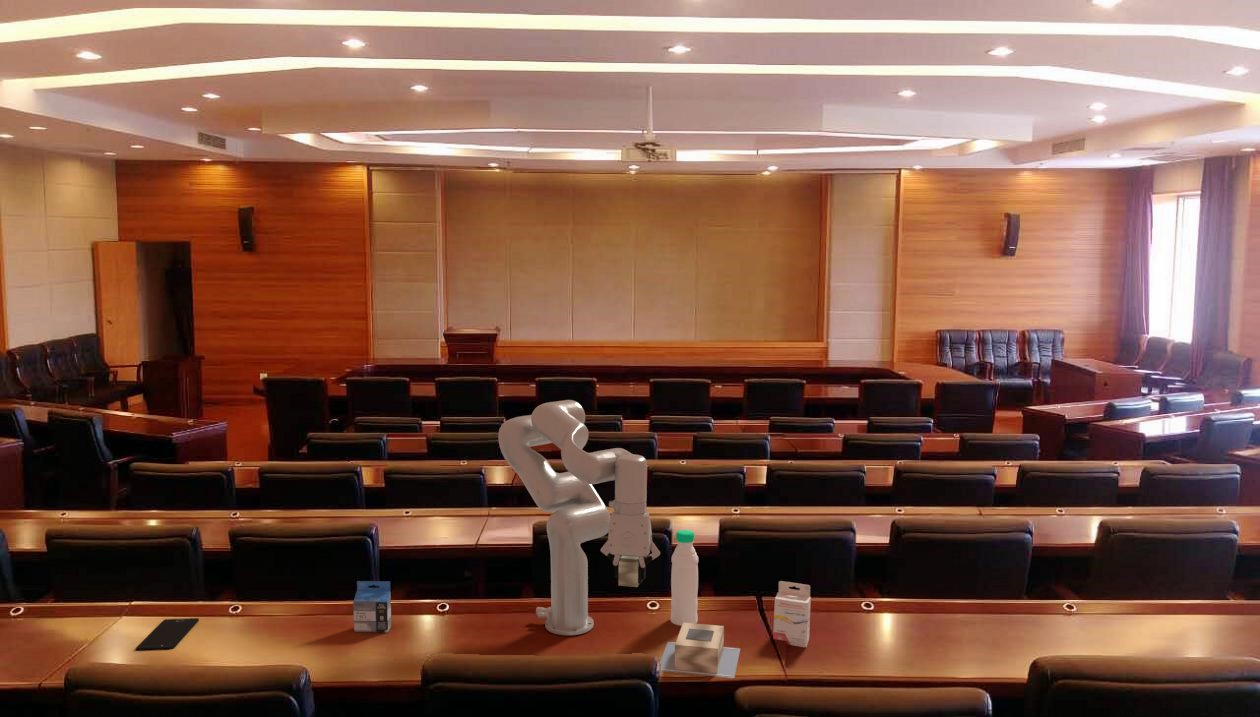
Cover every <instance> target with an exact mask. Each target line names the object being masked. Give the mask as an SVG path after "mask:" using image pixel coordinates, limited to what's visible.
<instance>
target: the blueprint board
mask: <svg viewBox="0 0 1260 717" xmlns="http://www.w3.org/2000/svg"><path fill="white" fill-rule="evenodd" d="M675 643H676V641H674V642H673V641H667V643H666V645H665V648H664V651H663V654H662V655H661V658H660V661H659V663H660V664H661V671H660V672H668V673H674V674H675V673H677V674H684V675H685V674H688V675H697V676H705V677H706V676H707V677H716V678H717V677H718V678H728V679H735V676H736V672H737V667H738V663H739V657H740V654H741V648H738V647H728V646H724V647H723V653H722V657H721V661H720V666H719V670H718V673H708V672H697V671H687V670H677V669H675Z"/></svg>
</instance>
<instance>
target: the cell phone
mask: <svg viewBox="0 0 1260 717" xmlns="http://www.w3.org/2000/svg"><path fill="white" fill-rule="evenodd" d="M198 622H199V618H197V617H196V618H193V617H192V618H167V619H163V620H162V621H161V622H160V623H159V624H158V625H157V626H156V627H155V628H154V629H153V630H152V631H151V632H150V633H149V634H148V636H146V637H145V638H144V639H143V641H141V642H140V643H139V645H137V646H136V648H135V650H136V651H140V652H141V651H163V650H166V651H169V650H174V649H176V647H177V646H178V645H179V644H180V642H181V641H182V640H184V638H185V637H186V636H187V635H188V634H189V632H190V631H191V630H192V629H193V628H194V627H195V626H196V625H197V623H198Z"/></svg>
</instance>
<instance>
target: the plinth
mask: <svg viewBox="0 0 1260 717" xmlns="http://www.w3.org/2000/svg"><path fill="white" fill-rule="evenodd" d="M724 634H725V625H716V624H707V623H706V624H705V623H696V624H695V623H684V622H683V624H682V626H681V627H680V630H679V633H678V634H677V638H676V641H675V642H676V643H675V669H677V670H687V671H697V672H708V673H718V670H719V666H720V661H721V657H722V653H723V647H725V646H724V643H725V642H724V640H725V635H724Z"/></svg>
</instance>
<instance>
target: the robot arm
mask: <svg viewBox="0 0 1260 717" xmlns="http://www.w3.org/2000/svg"><path fill="white" fill-rule="evenodd" d="M585 422H586V413H585V409H584V408H583V407H582V405H581V404H580V403H579V402H577V401H576V400H573V399H565V400H558V401H549V402H545V403H542V404H540V405H538V406H537V407H535V408H534V410H533V411H532V413H531V414H529V415H521V416H516V417H513V418H510V419H508V420H506V421H504V422H503V423H502V424H501V426H500V427H499V430H498V434H497V435H498V436H497V437H498V444H499V448H500V452H501V454H502V456H503V458H504V459H505V461H506V462H507V464H509V466H510V467H511V468H512V469H513V470H514V471H515V473H516V474H517V476H519V478H520V479H521V480H520V481H522V483H523V485H524V487H525V489H526V490H527V491H528V493H529V494H530V496H531V498H532V500H533V501H534V503H535V504H536V506H537V507H538V508H539V510H541V511H543V512H545V513H552V514H550V516H549V517H548V518H547V521H546V533H547V539H548V543H549V550H550V581H551V582H550V595H551V596H550V597H551V598H550V599H551V600H550V602H551V603H550V604H551V605H550V606H548V607H542V606H537V607H536V609H535V615H537V618H539V619H546V620H545V622H544V624H545V629H546V630H547V632H549V633H552V634H554V635H557V636H558V635H560V636H577V635H582V634H585V633H588V632H589V631H591V630H592V629H593V628H594V618H592V617H591V616H589V612H588V611H589V600H588V599H589V596H588V595H589V593H588V592H589V584H588V583H589V581H588V580H589V576H588V573H589V572H588V570H589V569H588V567H589V565H588V564H589V563H588V557H587V555H586V553H585V552H584V550H583V548H582V547H581V544H583V543H585V542H588V541H591V540H595V539H599V538H602V537H604V536H606V535H607V534H608V537H607V540H606V542H605V543H603V546H601V548H600V552H601V553H602V554H603V555H605V556H607V559H609V560H610V562H611V563H612V565H613V566H614V578H616V582H617V583H619V560H620V558H621V557H622V556H634V557H638V558H639V562H640V565H639V568H638V583H639V585H641V584H642V582H643V581H644V580H645V579H646V570H647V569H646V566H647V565H648V564H649V563H651V562H652V561H653V560H655V559H657V558H658V557H659V556H660V555H661V551H660V550H659V549H658V547H657V546H656V544H655V542H653V534H652V533H653V532H652V531H653V530H652V522H651V516H650V512H649V511H647V497H648V496H647V494H648V493H647V492H648V490H647V488H648V486H647V484H648V483H647V481H648V479H647V478H648V477H647V476H648V462H647V459H646V458H645V457H644V456H643V455H640V454H633V453H631V452H630V451H628V450H626V449H624V448H622V447H615V448H610V449H604V450H603V449H602V450H597V451H593V452H587V451H585V450H583V449H584V447H586V444H587V443H588V440H589V429H588V428H587V426H586V425H585ZM548 444H554V445H555V446H556V447H557V448H559V449H560V454H561V455H560V456H561V460H562V463H563V465H564V467H565V469H566V471H565V472H560V473H559V472H556V471H555V470H554V469H553V468H552V466H551V464H550V462H549V461H548V460H547V458H545V457H544V456H543V455H542V454H540V453H539V452H537V451H535V450H534V449H532V448H531V447H536V446H537V447H538V446H543V445H548ZM610 481H614V500H609V501H608V506H609V507H611V508H613V511H611V514H610V512H609V510H608V508H607V506H606V504H605V503H604V501H603V499H602V498H601V497H600V496H601V495H599V493H598V492H597V490H596V489H595V487H594V486H593V485H596V484H600V483H601V484H602V483H606V482H610Z"/></svg>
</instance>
